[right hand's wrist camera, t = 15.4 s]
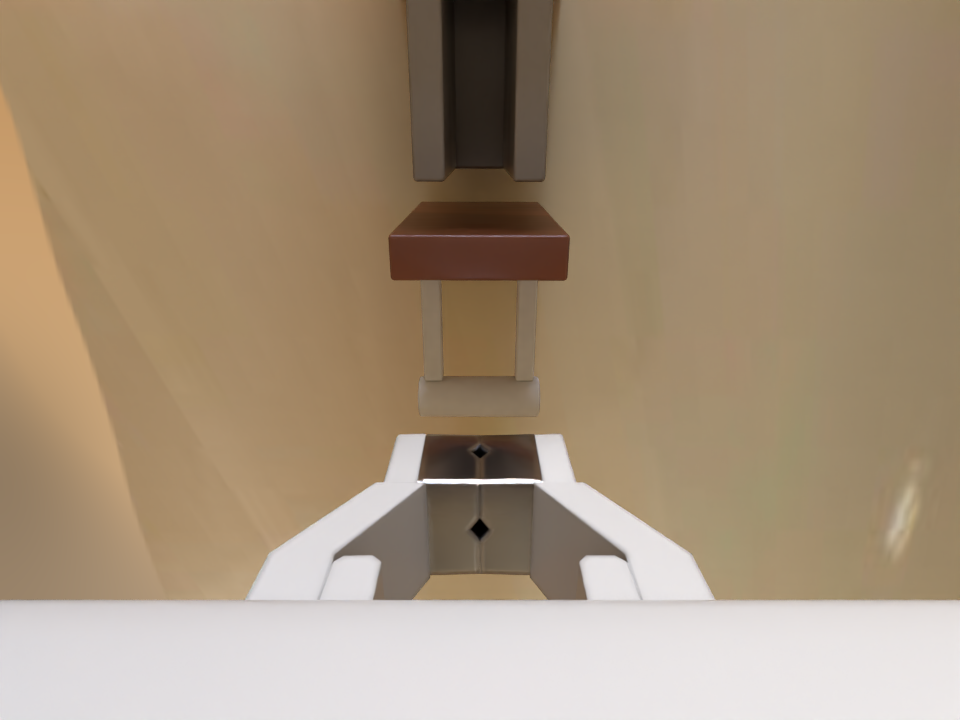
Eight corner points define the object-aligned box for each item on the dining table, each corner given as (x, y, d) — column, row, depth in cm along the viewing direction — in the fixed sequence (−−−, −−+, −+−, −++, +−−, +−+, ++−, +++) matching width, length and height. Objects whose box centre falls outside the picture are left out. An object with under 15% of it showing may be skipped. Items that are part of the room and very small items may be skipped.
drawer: (532, 355, 24) (556, 454, 16) (426, 354, 24) (401, 454, 16) (563, -394, 15) (642, -911, 8) (398, -395, 15) (318, -911, 8)
